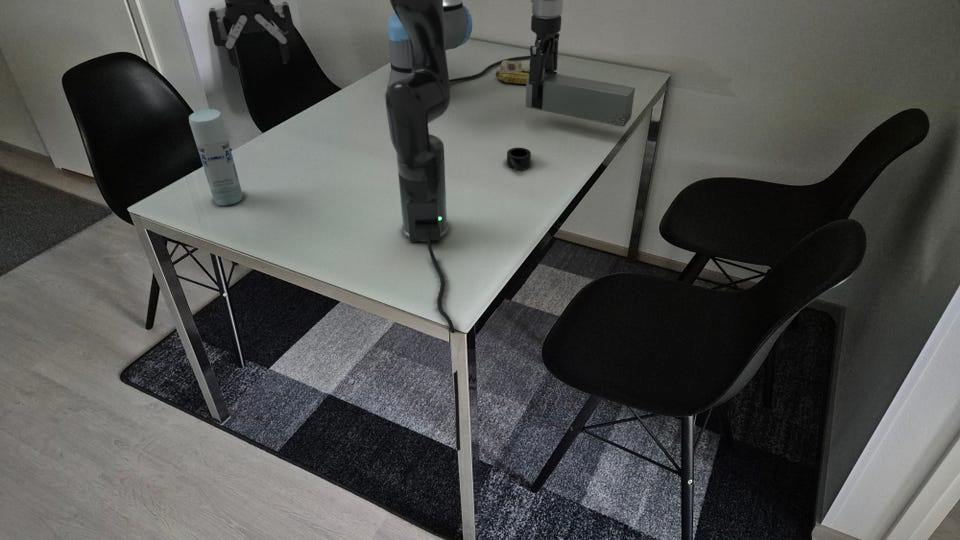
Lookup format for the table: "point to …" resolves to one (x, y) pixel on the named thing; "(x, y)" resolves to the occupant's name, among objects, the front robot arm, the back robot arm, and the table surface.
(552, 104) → the bar
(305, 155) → the table surface
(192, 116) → the spray paint can
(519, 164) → the duct tape
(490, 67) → the back robot arm
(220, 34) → the front robot arm
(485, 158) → the table surface
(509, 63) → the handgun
